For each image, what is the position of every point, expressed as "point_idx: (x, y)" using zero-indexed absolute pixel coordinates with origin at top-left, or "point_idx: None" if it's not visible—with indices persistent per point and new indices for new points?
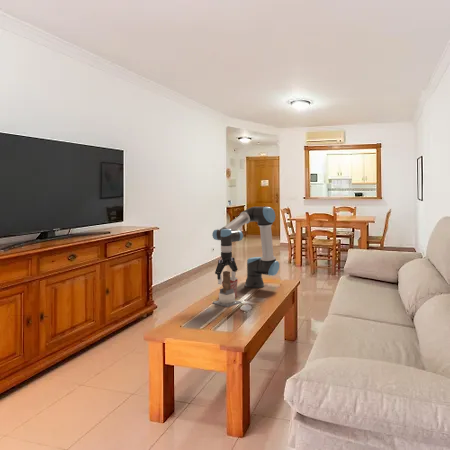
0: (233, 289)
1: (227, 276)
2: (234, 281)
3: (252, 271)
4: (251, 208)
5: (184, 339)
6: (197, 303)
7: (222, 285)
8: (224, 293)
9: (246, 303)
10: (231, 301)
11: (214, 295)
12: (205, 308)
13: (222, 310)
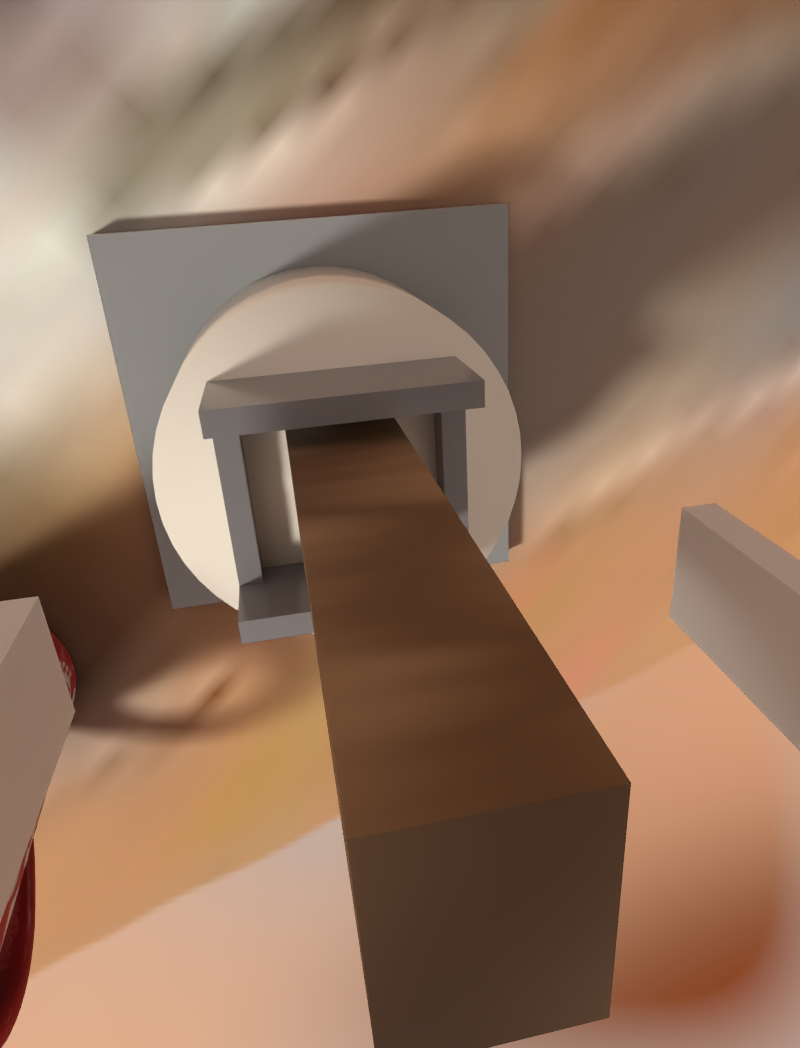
0: (211, 404)
1: (516, 638)
2: None
3: None
4: None
5: None
6: (642, 666)
7: (31, 951)
8: (462, 435)
9: (27, 99)
10: (350, 270)
11: (186, 850)
12: (772, 400)
13: (718, 92)
